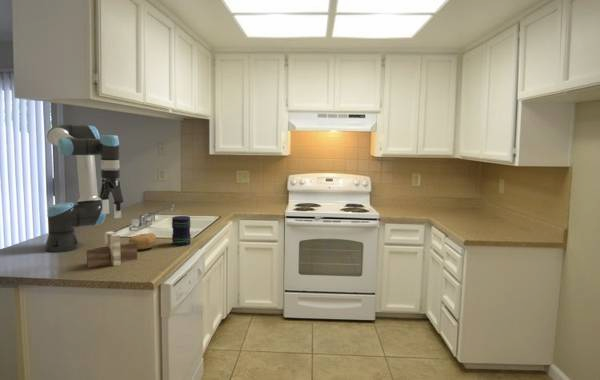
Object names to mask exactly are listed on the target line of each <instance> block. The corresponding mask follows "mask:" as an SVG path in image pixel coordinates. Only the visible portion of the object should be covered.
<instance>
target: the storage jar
mask: <svg viewBox="0 0 600 380" xmlns="http://www.w3.org/2000/svg"><path fill="white" fill-rule="evenodd" d="M171 229H172V235H171V241H172V244H173V245H172V244H171V245H172V246H174V245H177V246H176V247H186V246H189V245H191V238H192V237H191V217H190V216H189V215H188V216H187V215H177V216H172V217H171Z"/></svg>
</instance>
